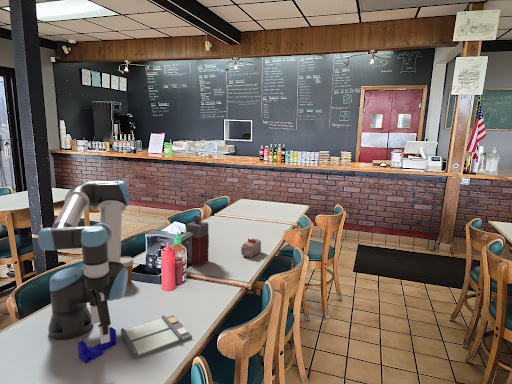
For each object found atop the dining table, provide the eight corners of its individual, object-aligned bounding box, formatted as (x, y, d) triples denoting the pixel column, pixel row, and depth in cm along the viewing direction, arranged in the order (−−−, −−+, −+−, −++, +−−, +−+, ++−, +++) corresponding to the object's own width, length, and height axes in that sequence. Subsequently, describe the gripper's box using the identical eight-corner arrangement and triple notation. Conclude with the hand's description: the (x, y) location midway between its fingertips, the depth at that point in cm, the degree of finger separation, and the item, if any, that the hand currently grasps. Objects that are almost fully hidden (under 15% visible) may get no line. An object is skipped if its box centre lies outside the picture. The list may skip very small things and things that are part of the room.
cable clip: (85, 364, 115) (84, 347, 114) (79, 358, 118) (77, 342, 117) (118, 346, 125) (118, 331, 124) (112, 341, 127) (111, 326, 126)
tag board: (121, 334, 132) (120, 328, 131) (173, 317, 144) (173, 312, 143) (135, 359, 118) (135, 353, 118) (191, 338, 130) (191, 332, 130)
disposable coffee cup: (126, 276, 179) (124, 254, 177) (138, 281, 175) (137, 258, 172) (110, 283, 171) (108, 260, 169) (122, 288, 166) (121, 265, 164)
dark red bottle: (210, 259, 204) (210, 213, 199) (199, 266, 194) (199, 218, 189) (198, 256, 208) (197, 211, 202) (186, 263, 198) (186, 215, 193)
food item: (251, 259, 207) (251, 243, 205) (239, 256, 210) (240, 241, 208) (262, 252, 218) (262, 237, 217) (251, 249, 222) (251, 235, 220)
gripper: (76, 263, 122) (81, 318, 126) (92, 291, 103) (97, 355, 107) (99, 259, 127) (103, 312, 131) (119, 284, 107) (122, 347, 111)
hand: (100, 332), depth 119 cm, fingers open, 13 cm apart
